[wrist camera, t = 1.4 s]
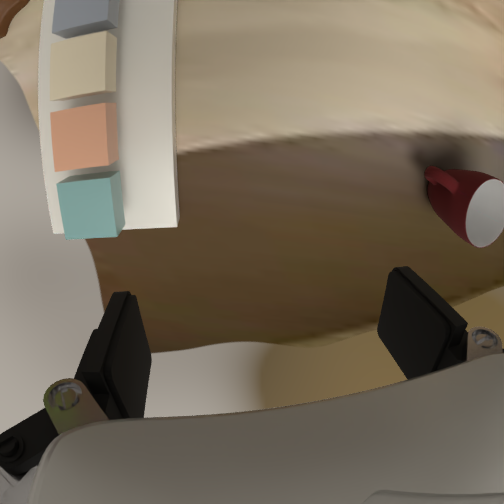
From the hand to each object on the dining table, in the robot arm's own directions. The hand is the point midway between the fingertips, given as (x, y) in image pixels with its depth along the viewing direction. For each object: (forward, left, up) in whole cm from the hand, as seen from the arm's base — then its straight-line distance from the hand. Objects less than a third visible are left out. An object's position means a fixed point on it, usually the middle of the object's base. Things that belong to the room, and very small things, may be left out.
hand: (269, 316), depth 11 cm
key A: (-18, -12, -21) cm, 30 cm away
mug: (0, +26, -24) cm, 35 cm away
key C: (-6, -12, -21) cm, 25 cm away
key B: (-12, -12, -21) cm, 27 cm away
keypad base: (-9, -12, -24) cm, 28 cm away
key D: (0, -12, -21) cm, 25 cm away
